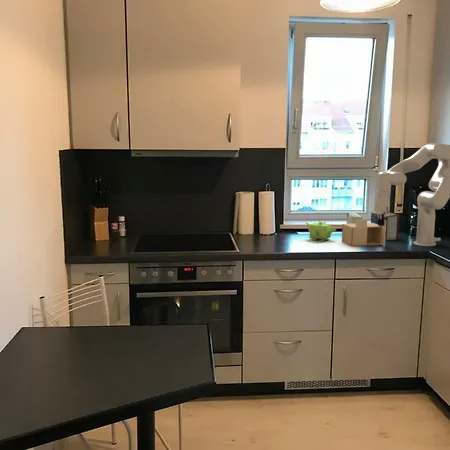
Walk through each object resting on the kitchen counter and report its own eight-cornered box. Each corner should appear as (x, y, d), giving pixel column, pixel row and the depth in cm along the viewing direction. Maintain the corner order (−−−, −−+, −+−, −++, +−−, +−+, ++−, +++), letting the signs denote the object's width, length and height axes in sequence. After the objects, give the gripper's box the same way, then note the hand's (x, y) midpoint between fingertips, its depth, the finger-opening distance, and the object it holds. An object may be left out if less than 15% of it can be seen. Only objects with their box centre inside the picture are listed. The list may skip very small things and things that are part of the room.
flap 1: (352, 245, 308) (353, 220, 305) (352, 245, 309) (353, 219, 306) (366, 244, 310) (368, 219, 308) (366, 244, 311) (367, 219, 308)
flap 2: (381, 244, 312) (383, 219, 310) (382, 244, 312) (384, 219, 310) (383, 247, 304) (385, 221, 301) (384, 247, 304) (386, 221, 301)
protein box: (383, 235, 343) (384, 211, 340) (398, 239, 329) (399, 214, 326) (369, 236, 340) (370, 212, 337) (383, 240, 325) (385, 215, 323)
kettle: (303, 238, 332) (304, 220, 330) (323, 236, 336) (324, 219, 334) (315, 242, 318) (316, 224, 316) (336, 241, 322) (336, 223, 320)
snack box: (361, 241, 323) (362, 216, 321) (352, 241, 323) (353, 216, 321) (353, 234, 344) (355, 211, 342) (345, 234, 344) (346, 211, 342)
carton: (371, 240, 325) (372, 222, 323) (381, 244, 313) (382, 226, 312) (341, 241, 320) (342, 223, 319) (350, 245, 309) (351, 227, 307)
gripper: (371, 192, 308) (368, 223, 311) (383, 195, 293) (381, 228, 296) (382, 192, 309) (380, 223, 312) (396, 195, 295) (393, 228, 298)
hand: (380, 225), depth 304 cm, fingers closed
